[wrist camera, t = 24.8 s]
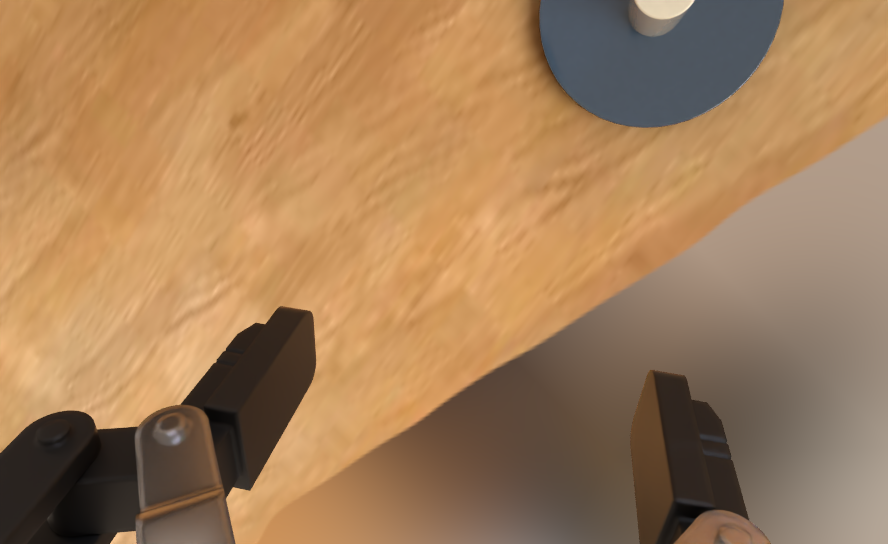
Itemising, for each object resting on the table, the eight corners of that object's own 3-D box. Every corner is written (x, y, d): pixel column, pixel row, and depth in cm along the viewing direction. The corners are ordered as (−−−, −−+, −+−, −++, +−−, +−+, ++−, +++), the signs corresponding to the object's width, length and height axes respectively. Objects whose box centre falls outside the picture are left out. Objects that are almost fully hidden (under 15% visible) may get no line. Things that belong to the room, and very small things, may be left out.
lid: (504, -27, 34) (479, -63, 27) (718, -168, 30) (751, -252, 23) (598, 165, 35) (597, 176, 29) (817, 54, 31) (875, 37, 24)
